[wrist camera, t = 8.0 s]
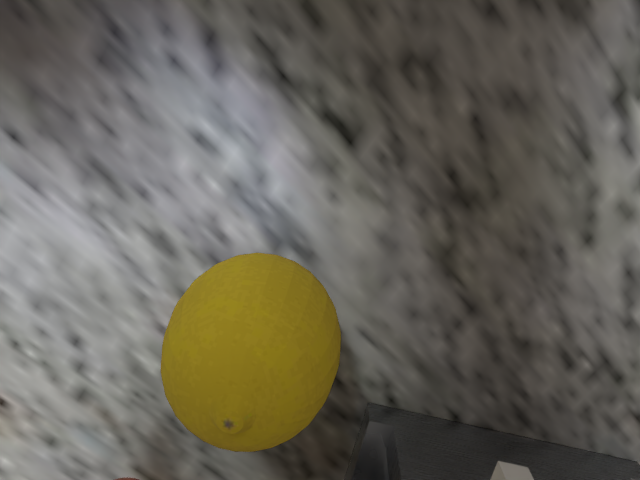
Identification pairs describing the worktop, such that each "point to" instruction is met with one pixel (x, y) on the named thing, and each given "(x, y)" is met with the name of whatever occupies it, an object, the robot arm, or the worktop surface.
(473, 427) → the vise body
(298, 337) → the lemon
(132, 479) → the free jaw
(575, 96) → the worktop surface
